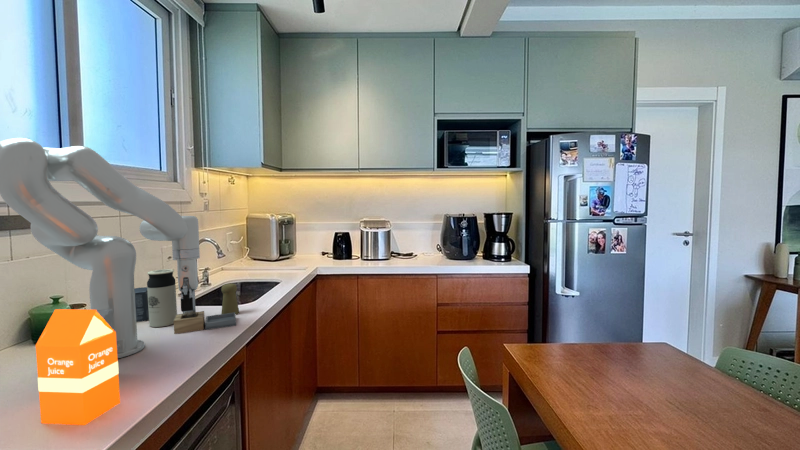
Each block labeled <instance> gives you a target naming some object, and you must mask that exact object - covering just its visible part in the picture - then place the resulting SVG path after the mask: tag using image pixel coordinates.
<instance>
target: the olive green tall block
mask: <svg viewBox="0 0 800 450" xmlns="http://www.w3.org/2000/svg"><path fill="white" fill-rule="evenodd" d="M220 291H221V293H222V303H221V304H222V305H221V313H220V314H228V313H235V314H236V315H238V313H239V314H240V310H239V304H238V299H237V298H238V297H237V294H236V293H237V291H238V287H237V284H235V283H225V284H223V285H222V286H221V290H220Z"/></svg>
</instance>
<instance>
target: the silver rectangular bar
mask: <svg viewBox="0 0 800 450" xmlns="http://www.w3.org/2000/svg"><path fill="white" fill-rule="evenodd" d="M192 297H193V310H192V311H183V312H182V314H183V319H184V318H192V317H196V312H197V311H196V310H197V309H196V290H194V289H192Z"/></svg>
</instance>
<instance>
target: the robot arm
mask: <svg viewBox="0 0 800 450" xmlns="http://www.w3.org/2000/svg"><path fill="white" fill-rule="evenodd" d="M69 181H73V182H74V183H76V184H78V185H79V186H80V187H81V188H83V189H84V190H86V191H87V192H88V193H89V194H91V195H92V196H94V197H95V198H96V199H97V200H98V201H100V202H101V203H103V204H104V205H105V206H106V207H108V208H110V209H113V210H115V211H118V212H121V213H125V214H128V215H132V216H134V217H137V218H138V219H141V220H142V221H141V223H140V225H139V232H140V234H141V235H142V237H144V238H145V239H147V240H150V241H155V242H156V241H157V242H165V241H166V242H171V245H172V246H171V248H172V249H171V250H172V251H171V252H172V260H173V261H176V264H177V265H176V266H177V270H176V272H177V282H178V283H177V284H178V290H179V292H180V311H181V312H182V313H183V311H192V310H193V297H192V289H194V290H195V291H197V289H198V287H199V280H198V279H199V278H198V262H197V260H198V259H200V257H201V256H200V254H201V252H200V233H199V232H200V231H199V219H198V217H196V216H195V215H181V214H180V213H178V212H177V210H175V209H174V208H173V207H172V206H171V205H169V204H168V203H166V202H165V201H164V200H162V199H161V198H159V197H157V196H155V195H153V194H151V193H150V192H148V191H146V190H145V189H143V188H140V187H139V186H138V185H135V184H134V183H133V182H132V181H130V180H129V179H128V178H127V177H125V176H124V175H123V174H122V173H121V172H120V171H118V170H117V169H116V168H115V167H114V166H113V165H112V164H111V163H109V161H107V160H106V159H105V158H104V157H102V156H101V155H100V154H99V153H98V152H96V151H95V150H94V149H92V148H91V147H88V146H83V145H72V146H66V147H65V146H64V147H61V148H59V147H58V148H56V147H44V146H42V145H41V144H40V143H38V142H37V141H34V140H32V139H30V138H29V139H28V138H23V137H14V138H8V139H7V138H6V139H3V140H0V196H1V199H2V200H3V201H4V203H5V204H6V205H8V207H9V208H11V209H12V210H13V211H14V212H15V213H17V214H18V215H20V216H21V218H22V217H23V218H24V219H25V220H26V221H28V222H29V223H30V232H31V234H32V237H33V238H35V240H36V241H38V243H40V244H41V245H42V246H44V247H45V248H46V249H49V250H50V251H52V252H53V253H54V254H56V255H58V256H59V257H61V258H62V259H63V260H66V261H67V262H69V263H70V264H73V265H74V266H75V267H78V268H81V269H84V270H88V271H92V273H91V277H90V281H89V290H88V291H89V306H90V310H105V309H112V310H113V330H114V331H115V332H116V342H117V359H120V358H125V357H128V356H131V355H134V354H136V353H139V352H140V351H142V350H143V349H144V348H145V341H144V340H141V339H138V328H137V322H136V307H135V291H134V289H135V269H136V263H137V251H136V248H135V245H133V243H132V242H131V241H129V239H126V238H124V237H122V236H117V235H99V234H98V232H99V231H98V230H99V227H98V223H97V222H96V220H95V219H94V218H93V217H92V216H91V215H89V214H88V213H87V212H85V211H84V210H83V209H81V208H80V207H79V206H78V205H76V204H74V203H73V202H71V201H70V200H69V199H68V198H66V197H65V196H64V195H62V193H60V192H59V191H58V190H57V189H56V188H54V186H53V185H52V184H51V182H69Z"/></svg>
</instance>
